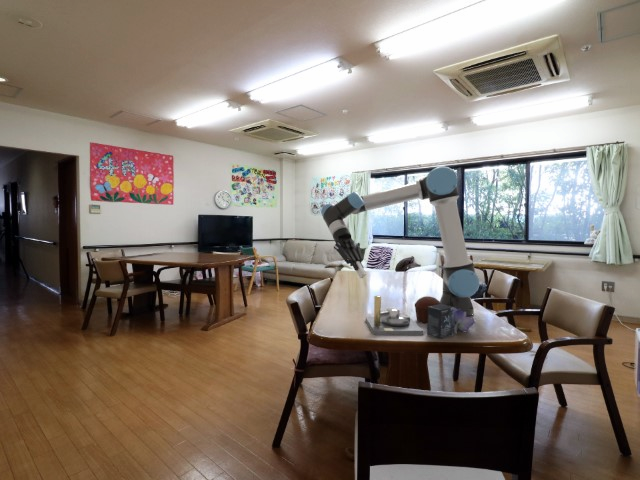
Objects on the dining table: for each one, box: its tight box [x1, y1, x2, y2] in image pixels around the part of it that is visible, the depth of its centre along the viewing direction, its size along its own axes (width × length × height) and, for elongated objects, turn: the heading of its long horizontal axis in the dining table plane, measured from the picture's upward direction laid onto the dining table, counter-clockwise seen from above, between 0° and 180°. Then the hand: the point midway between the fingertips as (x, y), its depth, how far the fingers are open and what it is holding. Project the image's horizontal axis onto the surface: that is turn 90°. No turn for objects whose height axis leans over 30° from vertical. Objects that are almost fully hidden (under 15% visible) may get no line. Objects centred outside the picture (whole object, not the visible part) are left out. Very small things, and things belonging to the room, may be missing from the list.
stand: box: [365, 316, 424, 336], centre depth 127 cm, size 18×17×2 cm
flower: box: [453, 308, 475, 335], centre depth 122 cm, size 9×9×10 cm
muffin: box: [414, 295, 441, 325], centre depth 135 cm, size 12×11×10 cm
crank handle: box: [373, 295, 411, 327], centre depth 126 cm, size 16×11×11 cm
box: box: [426, 304, 454, 340], centre depth 118 cm, size 8×6×11 cm
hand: (363, 276), depth 130 cm, fingers closed
